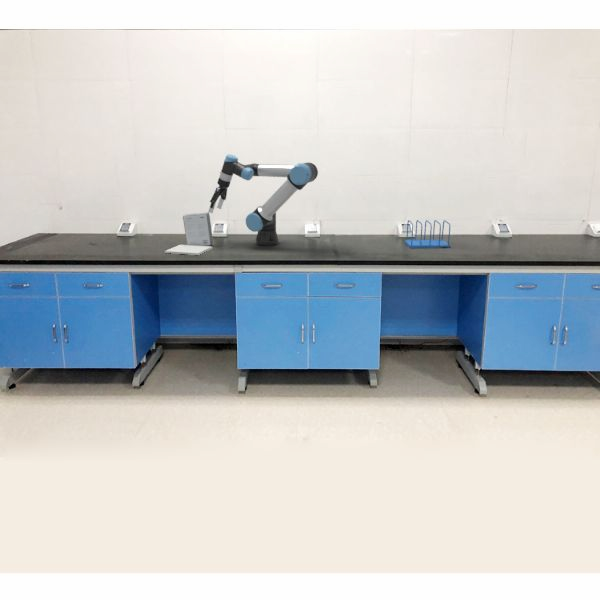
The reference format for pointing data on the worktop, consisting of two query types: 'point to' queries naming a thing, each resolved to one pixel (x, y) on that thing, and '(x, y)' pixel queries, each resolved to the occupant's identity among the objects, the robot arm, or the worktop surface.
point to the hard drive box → (198, 229)
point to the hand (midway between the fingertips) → (214, 210)
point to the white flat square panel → (189, 249)
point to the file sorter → (427, 243)
